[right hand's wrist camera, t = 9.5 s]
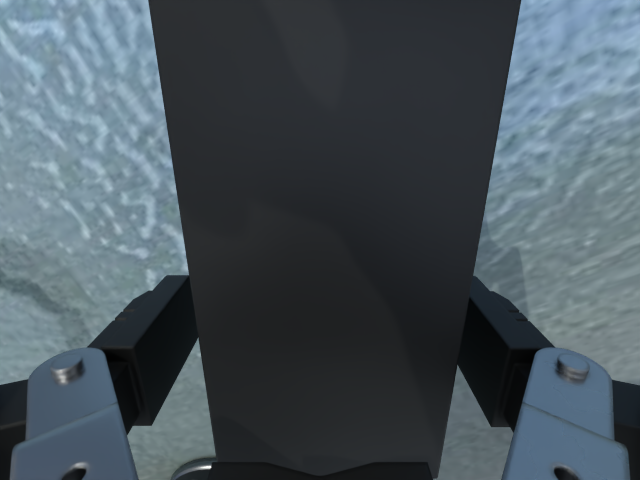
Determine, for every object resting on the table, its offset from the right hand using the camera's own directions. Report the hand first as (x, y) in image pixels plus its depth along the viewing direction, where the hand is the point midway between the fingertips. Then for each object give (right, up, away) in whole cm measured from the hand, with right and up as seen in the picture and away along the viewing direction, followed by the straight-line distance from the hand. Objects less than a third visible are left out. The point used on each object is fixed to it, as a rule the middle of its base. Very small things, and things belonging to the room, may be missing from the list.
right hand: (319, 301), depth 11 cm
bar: (0, +9, +2) cm, 10 cm away
